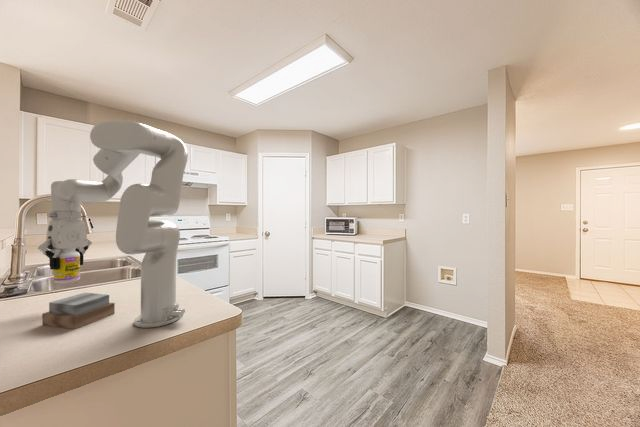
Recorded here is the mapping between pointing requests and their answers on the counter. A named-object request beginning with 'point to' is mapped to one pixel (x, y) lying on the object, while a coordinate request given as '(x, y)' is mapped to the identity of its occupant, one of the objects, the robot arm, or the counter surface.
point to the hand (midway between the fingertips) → (67, 266)
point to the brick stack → (78, 310)
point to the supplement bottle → (68, 266)
